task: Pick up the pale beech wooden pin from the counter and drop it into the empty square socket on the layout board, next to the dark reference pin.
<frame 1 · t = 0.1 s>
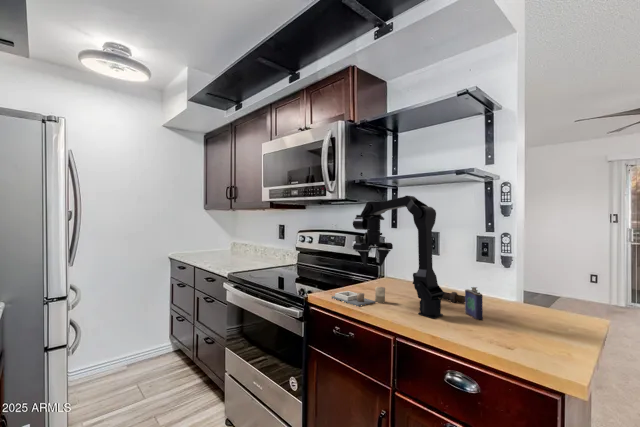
hand: (373, 266, 135), 14 cm above the worktop, tool pointing down, fingers open, 9 cm apart
pin: (379, 302, 130), on the worktop
bolt: (446, 302, 135), on the worktop
layout board: (352, 300, 132), on the worktop
flask: (473, 317, 112), on the worktop
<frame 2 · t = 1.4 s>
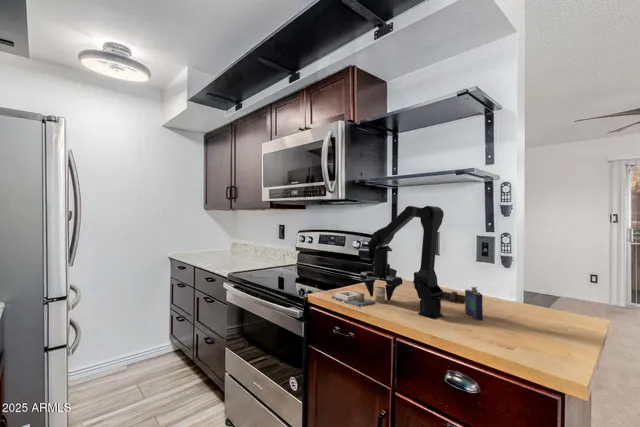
hand: (380, 298, 130), 1 cm above the worktop, tool pointing down, fingers open, 9 cm apart
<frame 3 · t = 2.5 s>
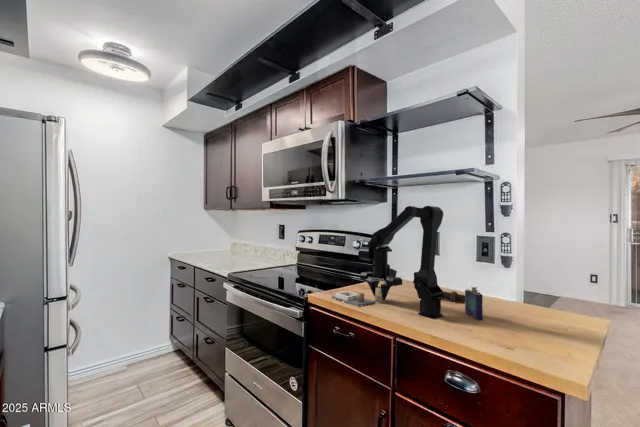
hand: (380, 299, 130), 1 cm above the worktop, tool pointing down, fingers closed on pin, 4 cm apart
pin: (379, 302, 130), on the worktop, touching gripper
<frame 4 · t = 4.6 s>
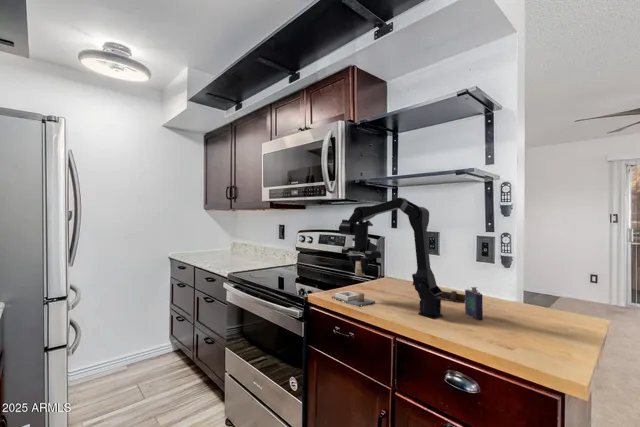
hand: (359, 272, 133), 12 cm above the worktop, tool pointing down, fingers closed on pin, 4 cm apart
pin: (359, 275, 133), point 11 cm above the worktop, touching gripper
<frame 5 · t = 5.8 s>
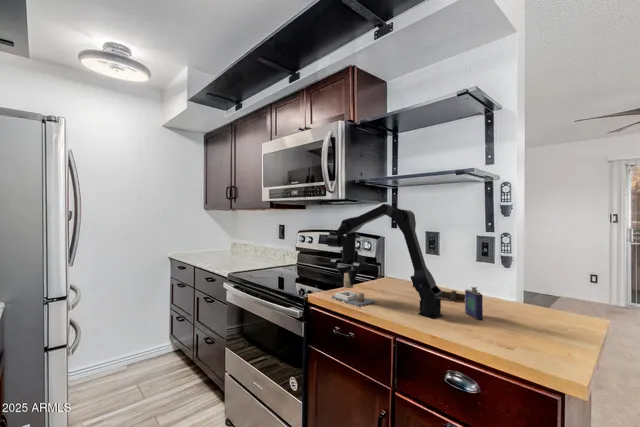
hand: (348, 284, 134), 6 cm above the worktop, tool pointing down, fingers closed on pin, 4 cm apart
pin: (348, 287, 134), point 5 cm above the worktop, touching gripper
when the fingers open (4 cm above the worktop, at t = 6.9 s): pin drops 2 cm, resting on layout board.
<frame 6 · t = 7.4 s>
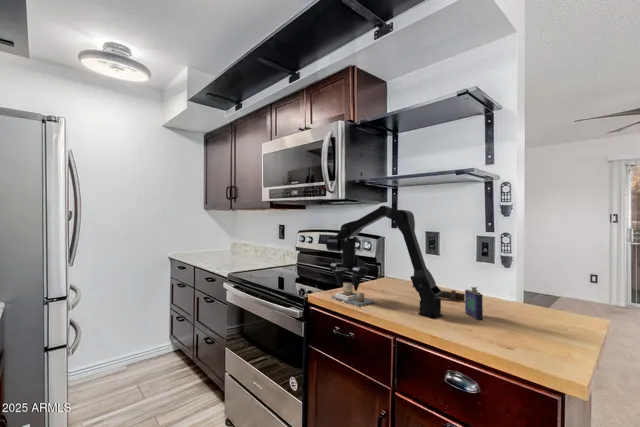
hand: (348, 288, 134), 4 cm above the worktop, tool pointing down, fingers open, 9 cm apart
pin: (347, 297, 134), point 1 cm above the worktop, touching layout board
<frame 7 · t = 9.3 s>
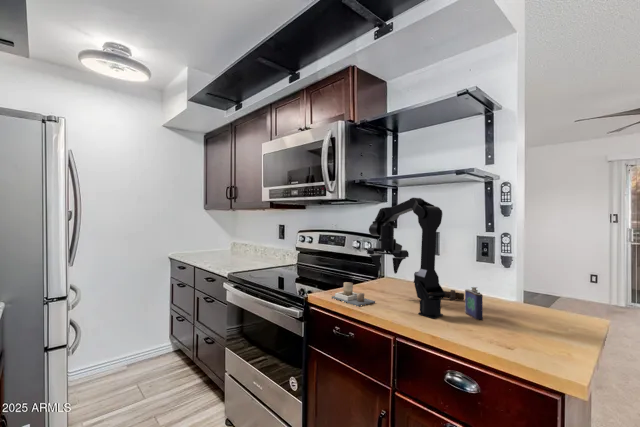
hand: (386, 272, 136), 12 cm above the worktop, tool pointing down, fingers open, 9 cm apart
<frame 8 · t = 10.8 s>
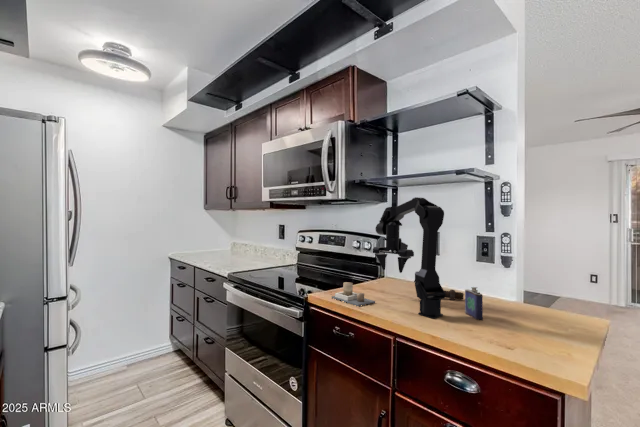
hand: (392, 271, 137), 12 cm above the worktop, tool pointing down, fingers open, 9 cm apart
at the end: pin 0.2 cm from the target spot on the layout board, point 0.8 cm above the layout board's base; pin tilted 1°; the gripper is holding nothing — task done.
